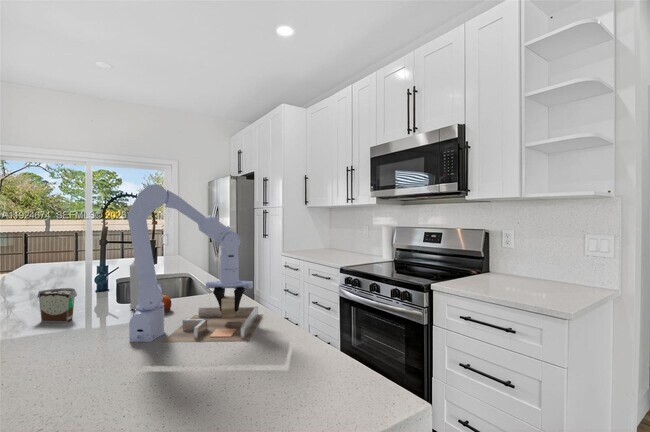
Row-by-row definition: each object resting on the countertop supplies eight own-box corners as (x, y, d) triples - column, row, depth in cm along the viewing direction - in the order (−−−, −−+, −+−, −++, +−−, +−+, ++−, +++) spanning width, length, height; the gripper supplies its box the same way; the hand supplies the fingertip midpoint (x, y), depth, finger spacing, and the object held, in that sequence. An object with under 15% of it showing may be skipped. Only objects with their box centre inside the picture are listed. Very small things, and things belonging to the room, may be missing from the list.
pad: (230, 337, 93) (230, 336, 93) (209, 337, 93) (209, 336, 93) (236, 329, 99) (236, 328, 99) (216, 330, 99) (216, 329, 99)
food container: (86, 316, 115) (86, 288, 115) (71, 322, 109) (71, 292, 109) (54, 315, 116) (54, 287, 116) (37, 321, 110) (37, 291, 110)
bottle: (138, 310, 122) (138, 243, 122) (126, 310, 123) (126, 243, 123) (148, 307, 127) (148, 242, 127) (137, 306, 128) (136, 242, 128)
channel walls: (244, 338, 92) (244, 327, 92) (172, 339, 92) (172, 328, 92) (258, 315, 113) (258, 306, 113) (199, 315, 113) (199, 307, 113)
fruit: (170, 314, 113) (158, 294, 113) (150, 326, 113) (138, 306, 113) (180, 307, 121) (169, 288, 121) (162, 318, 121) (151, 299, 121)
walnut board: (248, 344, 90) (248, 341, 90) (161, 345, 90) (161, 342, 90) (263, 317, 114) (263, 314, 114) (194, 317, 114) (194, 315, 114)
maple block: (234, 317, 104) (234, 298, 104) (221, 318, 104) (221, 298, 104) (237, 314, 108) (237, 295, 108) (225, 314, 108) (225, 295, 108)
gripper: (254, 266, 110) (254, 306, 110) (210, 266, 110) (210, 307, 110) (250, 269, 103) (250, 313, 103) (203, 270, 103) (203, 313, 103)
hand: (229, 310), depth 106 cm, fingers closed on maple block, 4 cm apart
